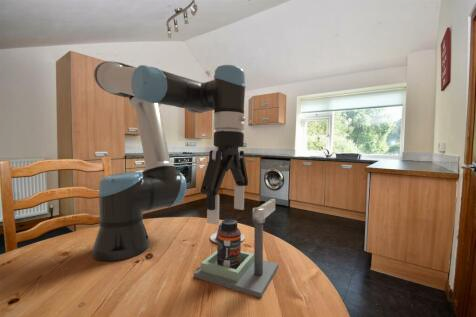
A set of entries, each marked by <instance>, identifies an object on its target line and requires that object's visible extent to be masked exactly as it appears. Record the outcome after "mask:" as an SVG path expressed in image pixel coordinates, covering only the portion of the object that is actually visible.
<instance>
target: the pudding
mask: <svg viewBox="0 0 476 317" xmlns="http://www.w3.org/2000/svg"><path fill="white" fill-rule="evenodd" d="M218 225H219V226H218V229H217V231H216V232H214V233H212V234H211V235H210V238H209V239H210V240H211V241H212V242H214V243H215V244H217V238H218V231H219V230H220V229H221V228H222V226H221V225H222V222H220V223H219V224H218ZM244 240H245V235H244V233H243V232H241V242H242V241H244Z"/></svg>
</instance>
